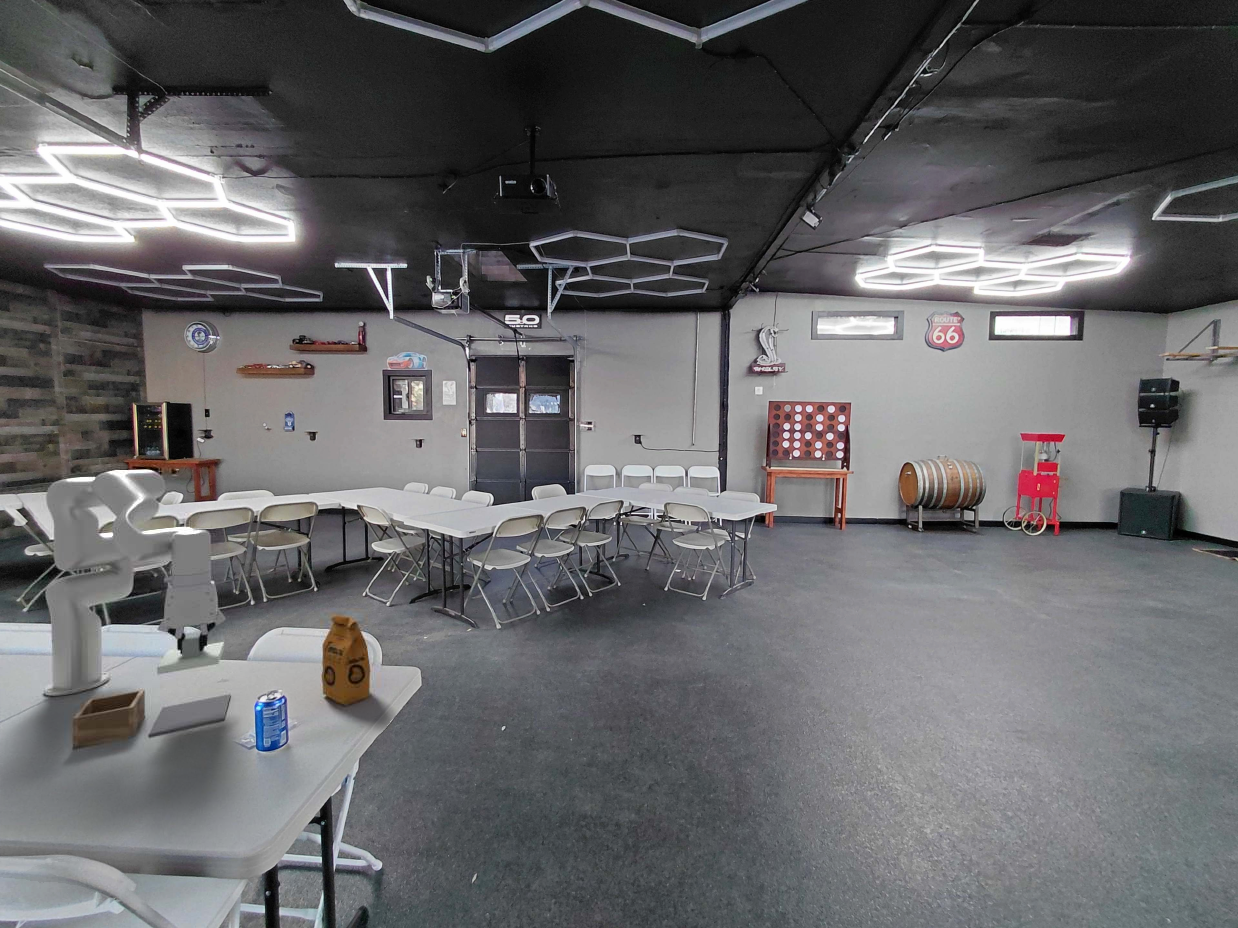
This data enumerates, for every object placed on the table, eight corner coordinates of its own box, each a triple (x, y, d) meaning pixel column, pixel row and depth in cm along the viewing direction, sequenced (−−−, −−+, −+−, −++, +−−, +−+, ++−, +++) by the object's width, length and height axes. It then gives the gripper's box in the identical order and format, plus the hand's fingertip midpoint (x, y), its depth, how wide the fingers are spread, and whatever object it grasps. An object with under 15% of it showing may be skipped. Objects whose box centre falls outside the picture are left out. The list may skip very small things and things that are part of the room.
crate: (88, 727, 120) (88, 699, 120) (144, 716, 125) (144, 689, 125) (72, 749, 112) (72, 718, 111) (133, 736, 117) (133, 706, 117)
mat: (162, 709, 129) (162, 707, 129) (230, 696, 136) (230, 693, 136) (148, 736, 117) (148, 733, 117) (224, 719, 125) (224, 717, 125)
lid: (168, 657, 128) (167, 633, 128) (224, 648, 134) (224, 625, 134) (157, 674, 118) (156, 648, 118) (218, 663, 124) (218, 638, 124)
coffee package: (338, 710, 130) (338, 628, 129) (317, 696, 137) (317, 617, 137) (375, 696, 138) (376, 618, 137) (354, 682, 145) (354, 608, 145)
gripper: (144, 587, 118) (145, 663, 119) (230, 578, 127) (231, 649, 127) (152, 580, 124) (153, 652, 125) (234, 572, 133) (234, 639, 134)
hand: (192, 650), depth 126 cm, fingers closed on lid, 3 cm apart
